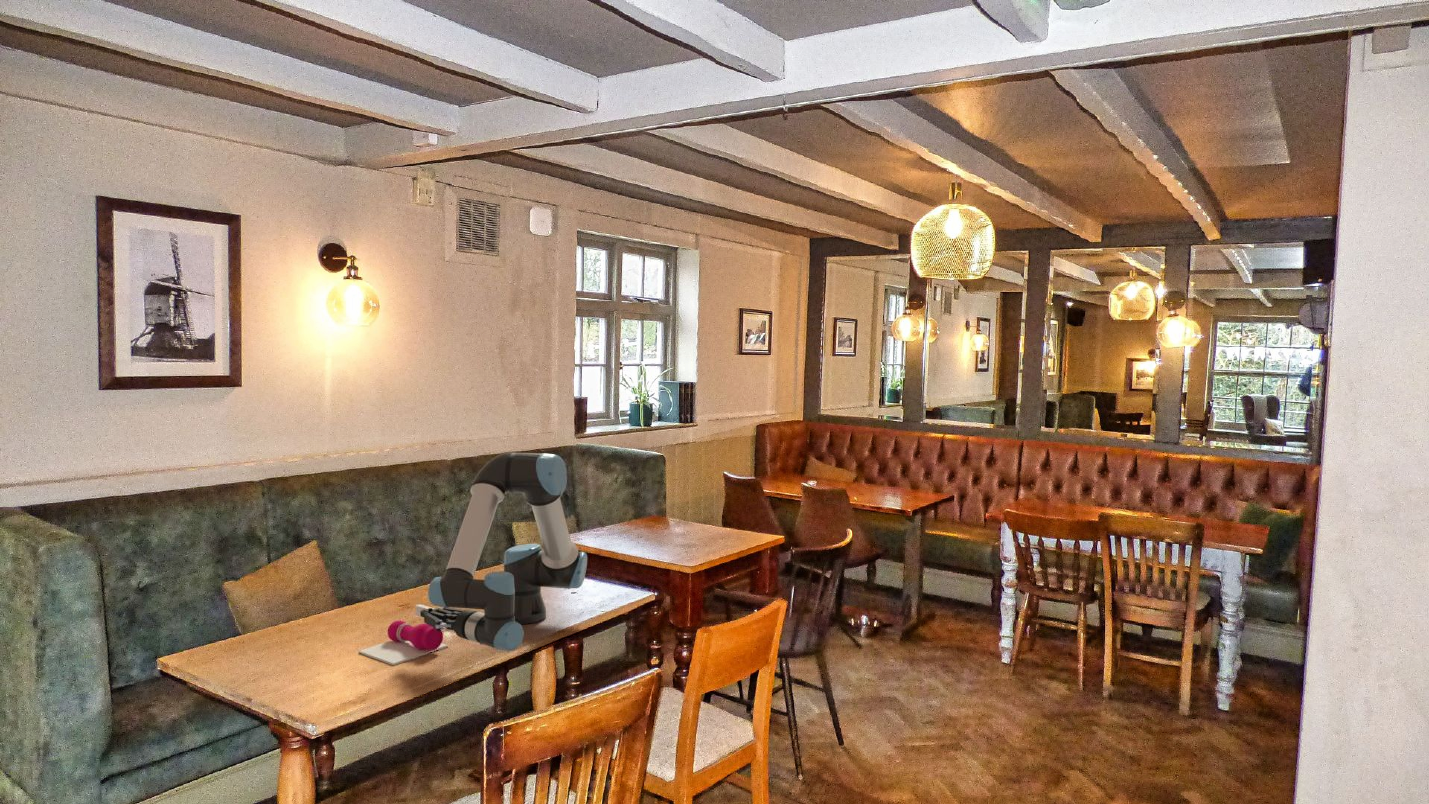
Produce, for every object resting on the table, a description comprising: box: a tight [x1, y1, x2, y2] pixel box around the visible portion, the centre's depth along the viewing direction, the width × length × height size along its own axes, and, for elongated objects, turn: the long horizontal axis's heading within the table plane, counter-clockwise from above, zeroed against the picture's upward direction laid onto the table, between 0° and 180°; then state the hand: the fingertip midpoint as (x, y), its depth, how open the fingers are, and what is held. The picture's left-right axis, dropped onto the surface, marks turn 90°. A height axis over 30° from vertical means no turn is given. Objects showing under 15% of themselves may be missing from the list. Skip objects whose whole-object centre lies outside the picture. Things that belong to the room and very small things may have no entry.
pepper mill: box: [387, 620, 444, 650], centre depth 247 cm, size 7×7×20 cm
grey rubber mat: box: [358, 640, 448, 666], centre depth 244 cm, size 16×18×1 cm
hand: (417, 609), depth 240 cm, fingers closed
